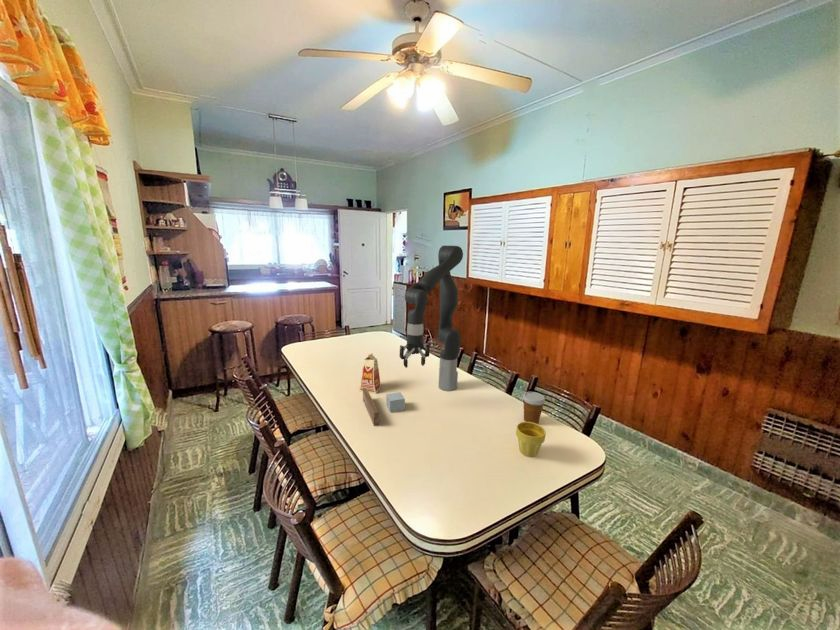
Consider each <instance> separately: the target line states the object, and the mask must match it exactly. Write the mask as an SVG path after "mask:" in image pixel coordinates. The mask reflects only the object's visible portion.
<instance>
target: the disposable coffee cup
mask: <svg viewBox="0 0 840 630" xmlns="http://www.w3.org/2000/svg"><path fill="white" fill-rule="evenodd" d="M522 399H523V422H532V423H536V424H538V425H539V423H540V418H541V415H542V411H543V407H544V405H545V403H546V398H545V396H544V395H543V394H541V393H539V392H535V391H526V392H524V393H523V395H522Z"/></svg>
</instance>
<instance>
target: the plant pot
mask: <svg viewBox="0 0 840 630" xmlns="http://www.w3.org/2000/svg"><path fill="white" fill-rule="evenodd" d="M546 434H547V431H546V429H545V428H544V427H543V426H542V425H540V424H539V423H538V424H536V423H532V422H525V421H522V422H519V423H517V425H516V429H515V435H516V437H517V440H518V449H519V452H520V454H522V455H523V456H525V457H528V458H534V457H537V456H538V454H539V451H540V449H541V446H542V444H544V442H545V440H546Z"/></svg>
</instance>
